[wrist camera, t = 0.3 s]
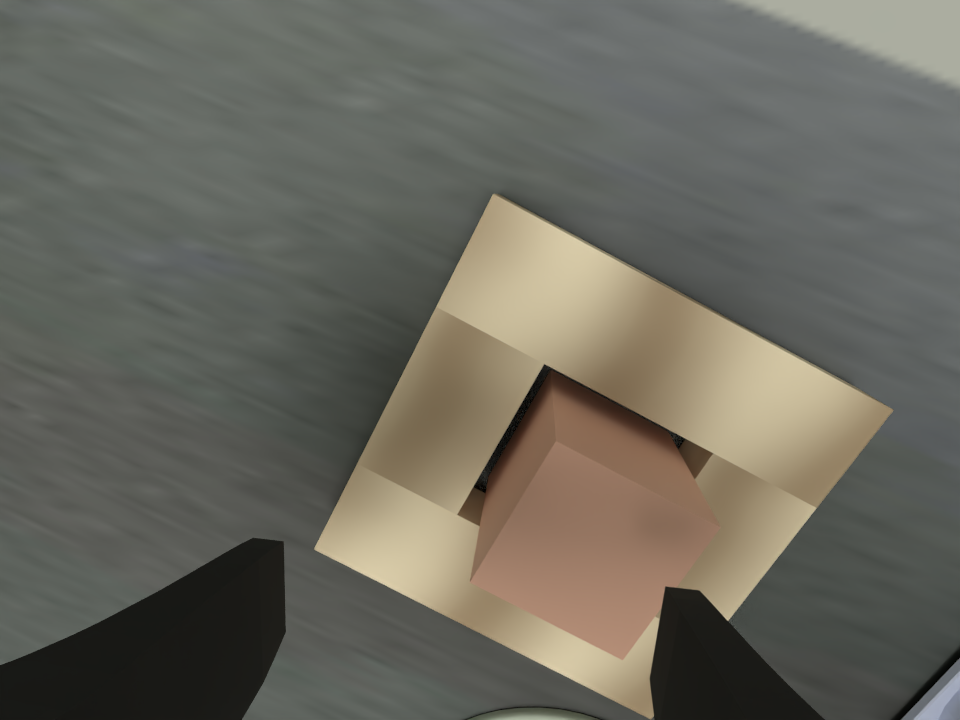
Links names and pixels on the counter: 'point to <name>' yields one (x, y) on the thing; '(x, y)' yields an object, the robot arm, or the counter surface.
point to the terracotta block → (589, 517)
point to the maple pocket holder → (617, 375)
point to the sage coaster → (533, 715)
